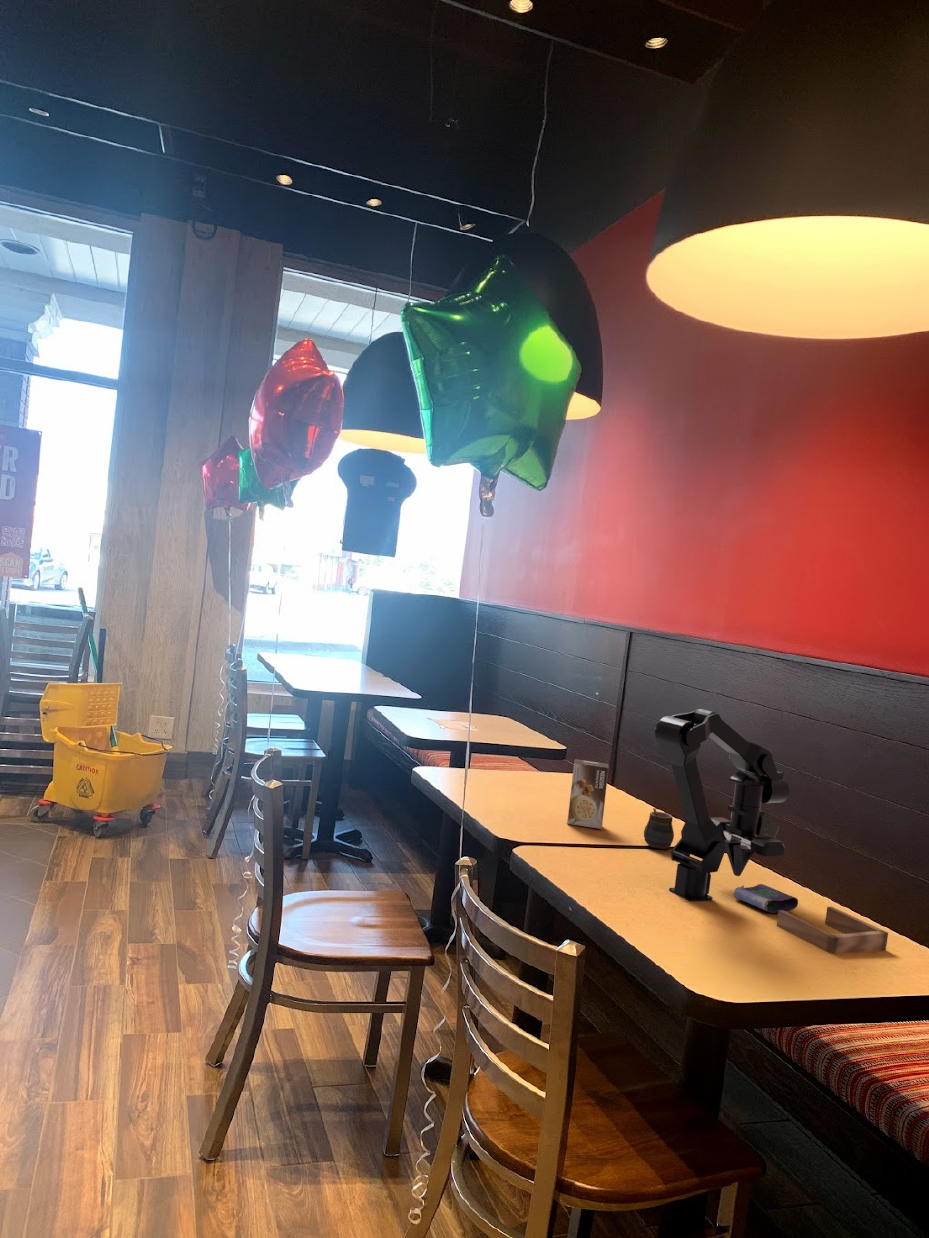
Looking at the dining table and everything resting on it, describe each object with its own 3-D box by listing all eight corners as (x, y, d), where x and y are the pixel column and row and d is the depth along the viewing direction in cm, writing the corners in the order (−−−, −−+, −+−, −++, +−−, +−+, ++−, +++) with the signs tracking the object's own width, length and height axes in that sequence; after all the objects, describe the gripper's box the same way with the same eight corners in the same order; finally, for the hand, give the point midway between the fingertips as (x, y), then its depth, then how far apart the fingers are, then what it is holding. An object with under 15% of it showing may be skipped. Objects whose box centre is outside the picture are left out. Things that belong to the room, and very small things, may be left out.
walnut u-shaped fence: (831, 957, 165) (833, 938, 165) (776, 928, 177) (778, 910, 176) (885, 951, 171) (888, 932, 171) (829, 923, 183) (831, 906, 183)
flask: (766, 900, 182) (727, 884, 192) (765, 915, 182) (726, 898, 192) (799, 896, 187) (758, 880, 196) (798, 910, 187) (757, 894, 196)
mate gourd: (676, 847, 227) (681, 807, 227) (665, 853, 221) (671, 812, 220) (649, 840, 231) (654, 801, 230) (637, 845, 224) (643, 805, 224)
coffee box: (602, 823, 242) (610, 763, 241) (601, 829, 235) (609, 768, 235) (567, 818, 243) (575, 758, 242) (566, 823, 237) (573, 762, 236)
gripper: (808, 815, 191) (797, 889, 192) (743, 792, 208) (734, 860, 209) (769, 816, 186) (758, 891, 187) (705, 792, 203) (696, 861, 203)
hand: (737, 875), depth 197 cm, fingers closed
